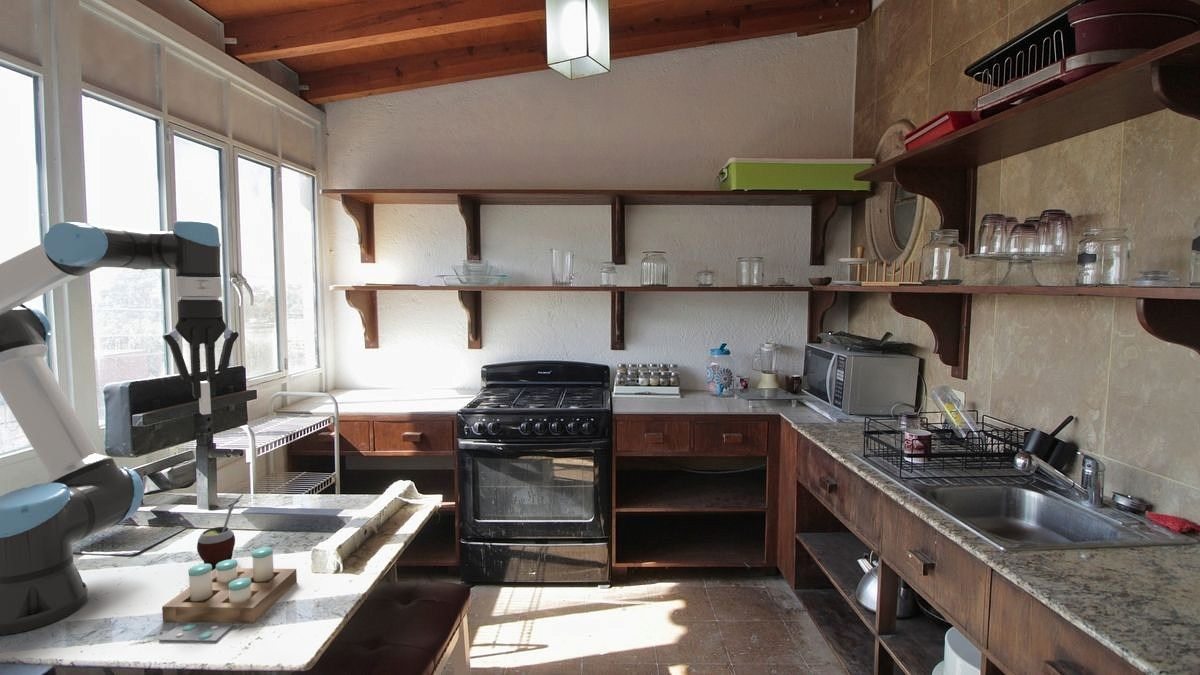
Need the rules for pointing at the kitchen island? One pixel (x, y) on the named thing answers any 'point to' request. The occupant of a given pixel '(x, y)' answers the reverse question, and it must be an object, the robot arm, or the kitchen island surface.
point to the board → (218, 603)
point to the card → (197, 633)
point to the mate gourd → (217, 542)
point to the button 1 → (200, 582)
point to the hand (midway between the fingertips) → (205, 413)
